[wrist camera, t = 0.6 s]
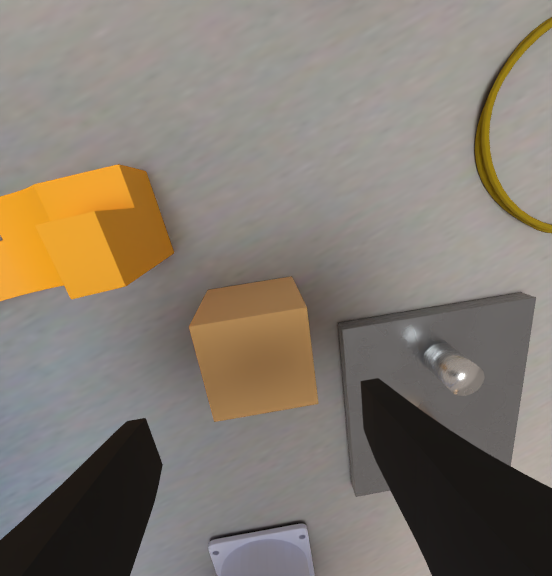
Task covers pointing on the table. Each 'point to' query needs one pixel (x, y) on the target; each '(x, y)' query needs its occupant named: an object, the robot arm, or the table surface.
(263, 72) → the table surface
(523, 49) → the extension cord
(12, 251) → the pipe clamp
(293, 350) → the light orange cube
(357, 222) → the table surface
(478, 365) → the plate
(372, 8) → the table surface
